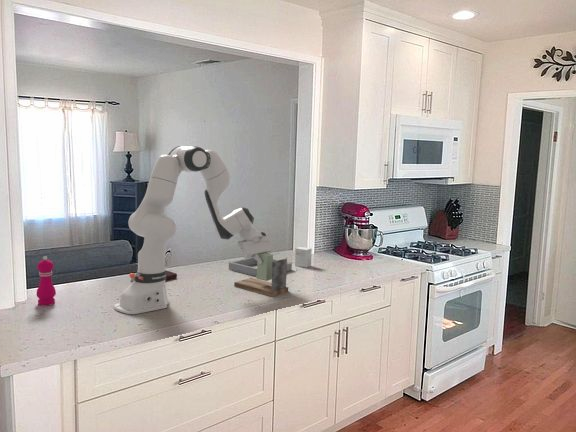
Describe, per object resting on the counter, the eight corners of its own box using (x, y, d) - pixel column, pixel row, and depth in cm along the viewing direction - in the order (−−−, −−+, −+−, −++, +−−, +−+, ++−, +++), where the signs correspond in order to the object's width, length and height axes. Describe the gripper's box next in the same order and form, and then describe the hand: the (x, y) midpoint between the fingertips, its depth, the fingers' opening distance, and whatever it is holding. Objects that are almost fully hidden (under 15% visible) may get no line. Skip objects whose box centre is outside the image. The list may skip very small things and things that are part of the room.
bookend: (272, 296, 228) (273, 262, 226) (234, 286, 243) (235, 254, 241) (288, 291, 238) (289, 258, 236) (250, 281, 252) (251, 250, 250)
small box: (311, 266, 290) (312, 248, 289) (306, 267, 286) (307, 249, 284) (299, 264, 295) (300, 246, 293) (294, 265, 290) (295, 247, 289)
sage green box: (266, 280, 235) (266, 256, 233) (256, 278, 238) (257, 253, 237) (272, 279, 238) (273, 254, 237) (262, 276, 242) (263, 252, 240)
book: (177, 279, 254) (177, 272, 253) (147, 286, 238) (147, 280, 237) (160, 274, 261) (160, 268, 260) (129, 282, 245) (129, 275, 244)
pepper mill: (43, 307, 202) (42, 259, 199) (33, 303, 206) (31, 256, 203) (59, 303, 208) (58, 256, 205) (49, 299, 212) (48, 253, 209)
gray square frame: (262, 278, 260) (262, 270, 259) (228, 269, 275) (228, 262, 275) (291, 269, 280) (292, 262, 279) (258, 262, 295) (258, 255, 294)
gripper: (239, 237, 232) (255, 261, 227) (268, 232, 248) (283, 254, 243) (232, 245, 235) (247, 269, 230) (261, 240, 251) (275, 262, 246)
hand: (266, 261), depth 237 cm, fingers closed on sage green box, 4 cm apart
